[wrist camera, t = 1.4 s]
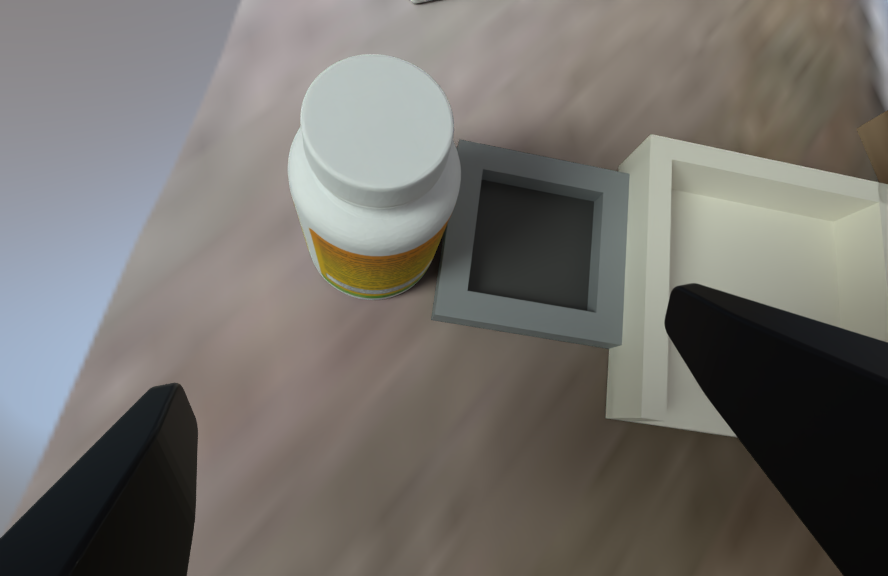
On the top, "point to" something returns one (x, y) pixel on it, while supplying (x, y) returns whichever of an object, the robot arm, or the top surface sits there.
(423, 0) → the jar
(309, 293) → the top surface
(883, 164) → the walnut block
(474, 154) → the holed board
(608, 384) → the tray
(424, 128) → the supplement bottle
